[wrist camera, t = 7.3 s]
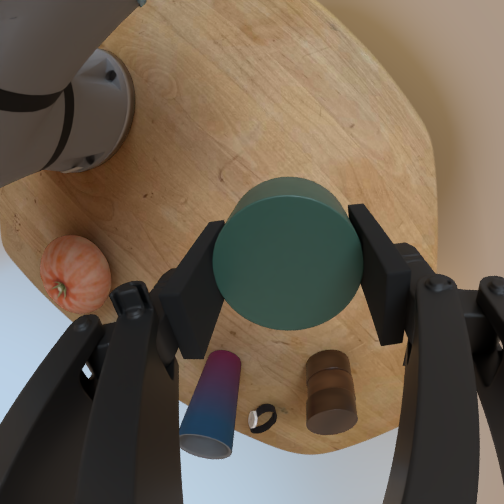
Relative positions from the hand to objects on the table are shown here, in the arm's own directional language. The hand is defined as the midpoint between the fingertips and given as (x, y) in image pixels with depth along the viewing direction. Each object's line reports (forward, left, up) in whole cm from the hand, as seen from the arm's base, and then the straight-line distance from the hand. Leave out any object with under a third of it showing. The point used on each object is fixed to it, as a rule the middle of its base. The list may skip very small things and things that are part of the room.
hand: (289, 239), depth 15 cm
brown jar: (+17, -23, -17) cm, 33 cm away
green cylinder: (0, 0, 0) cm, 0 cm away
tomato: (-20, -21, -17) cm, 34 cm away
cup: (+3, -29, -17) cm, 34 cm away
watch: (+14, -39, -14) cm, 44 cm away
